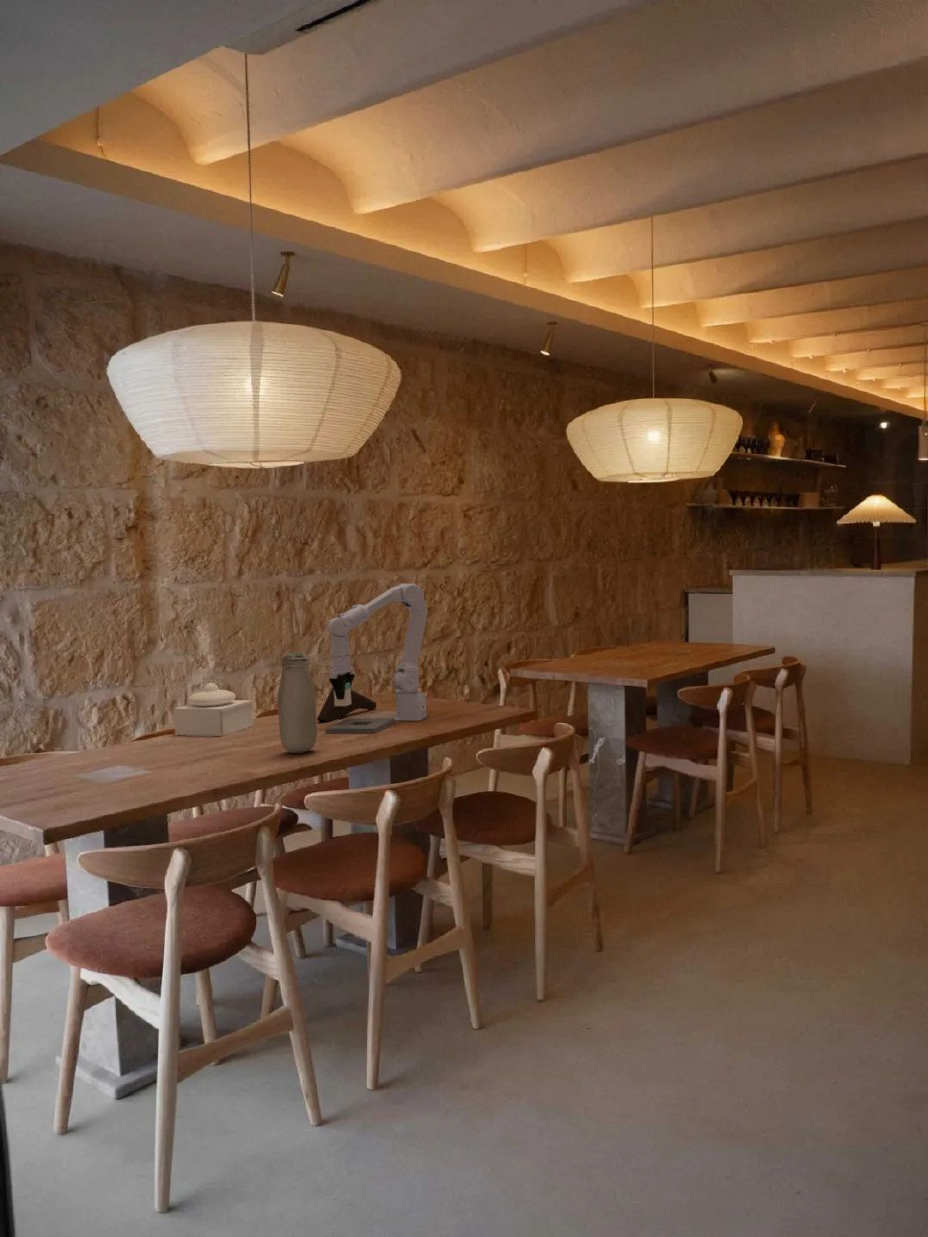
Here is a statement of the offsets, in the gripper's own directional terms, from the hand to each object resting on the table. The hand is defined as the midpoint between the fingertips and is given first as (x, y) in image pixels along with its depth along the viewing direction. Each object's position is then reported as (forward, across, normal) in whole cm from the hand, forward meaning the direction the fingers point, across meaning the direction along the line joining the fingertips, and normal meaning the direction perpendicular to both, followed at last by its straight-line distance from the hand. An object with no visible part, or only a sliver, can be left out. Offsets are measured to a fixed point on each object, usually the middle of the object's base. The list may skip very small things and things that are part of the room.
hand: (343, 698), depth 315 cm
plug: (+2, 0, 0) cm, 2 cm away
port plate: (+9, +4, +7) cm, 12 cm away
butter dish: (+9, +9, -41) cm, 43 cm away
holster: (+10, -19, -7) cm, 22 cm away
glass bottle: (+9, +41, +4) cm, 42 cm away
